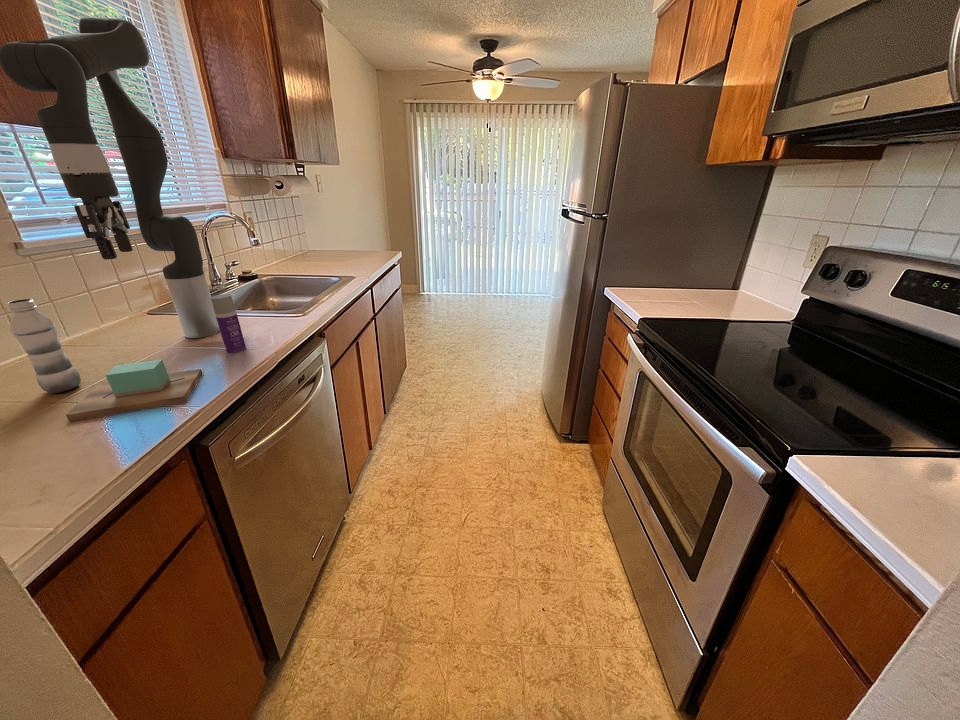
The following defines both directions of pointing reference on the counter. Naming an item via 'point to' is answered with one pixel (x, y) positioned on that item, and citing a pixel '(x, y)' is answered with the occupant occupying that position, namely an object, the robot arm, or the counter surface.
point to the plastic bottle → (42, 347)
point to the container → (228, 324)
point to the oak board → (135, 397)
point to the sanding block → (138, 378)
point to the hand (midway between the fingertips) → (119, 255)
